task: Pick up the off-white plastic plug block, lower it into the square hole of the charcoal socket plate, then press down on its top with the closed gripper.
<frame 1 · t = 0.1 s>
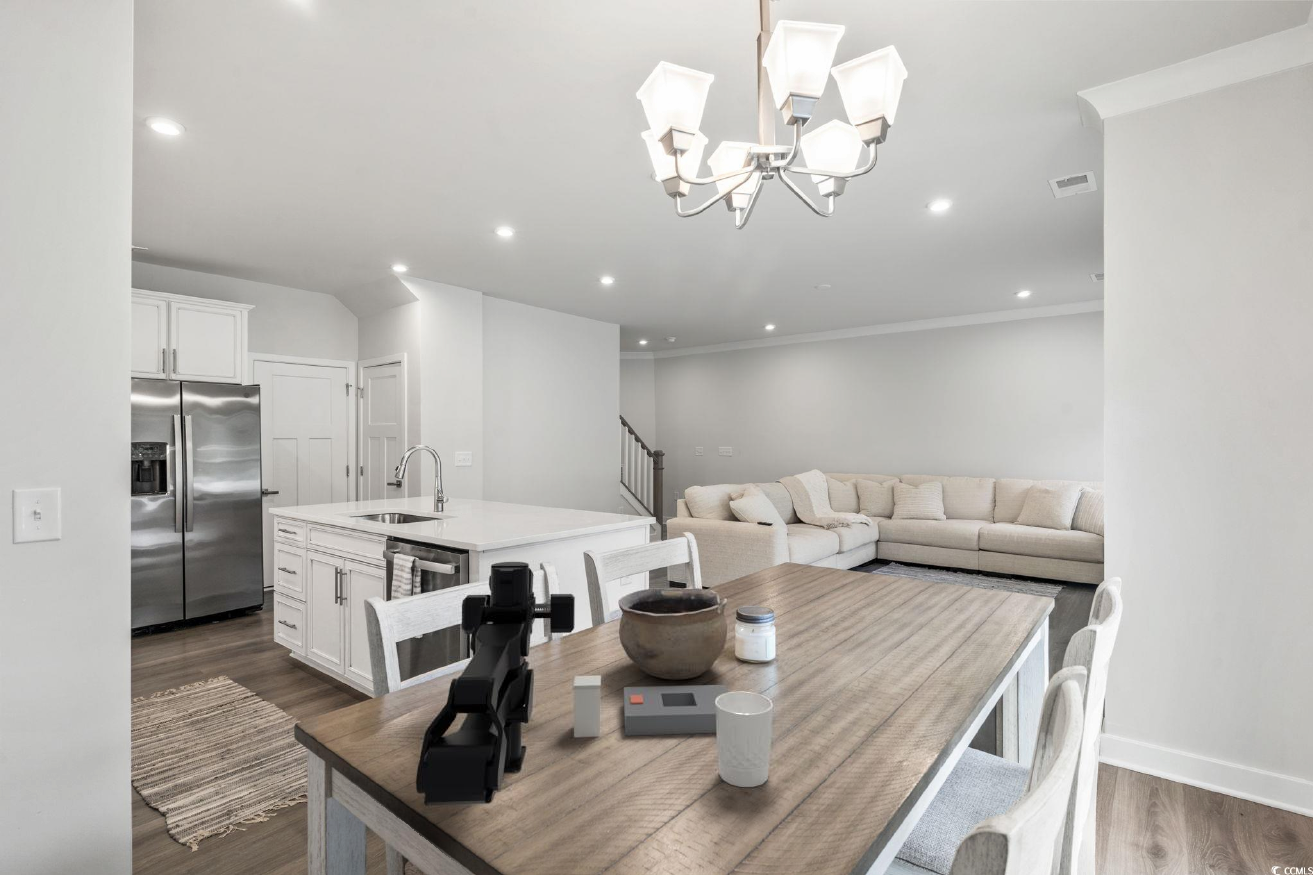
hand: (525, 602, 117), 17 cm above the table, tool horizontal, fingers open, 9 cm apart
ceramic bowl: (672, 673, 127), on the table
white cup: (743, 776, 88), on the table
plug: (587, 731, 101), on the table
socket: (678, 717, 106), on the table
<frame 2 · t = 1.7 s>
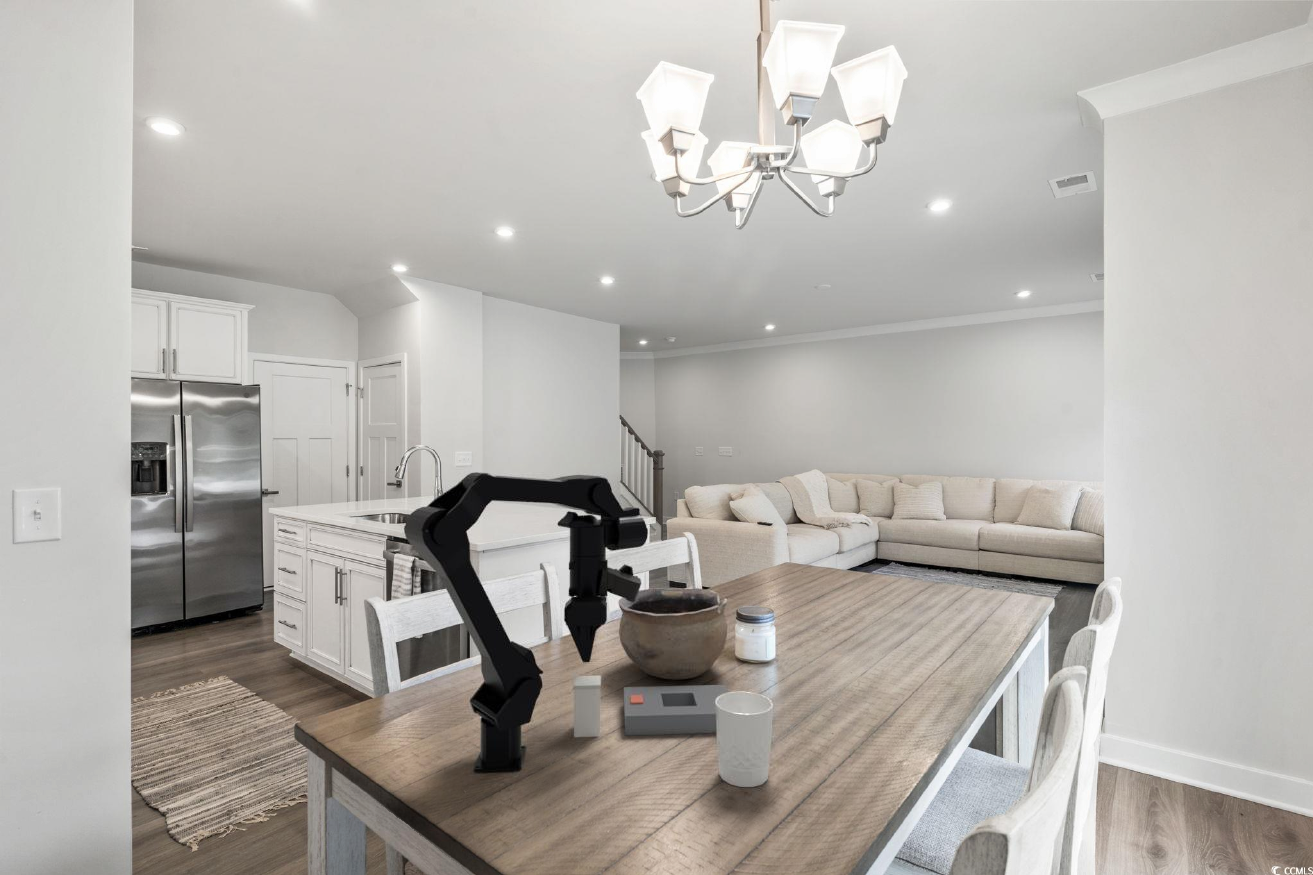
hand: (587, 652, 102), 12 cm above the table, tool pointing down, fingers open, 9 cm apart
nothing on the table moved.
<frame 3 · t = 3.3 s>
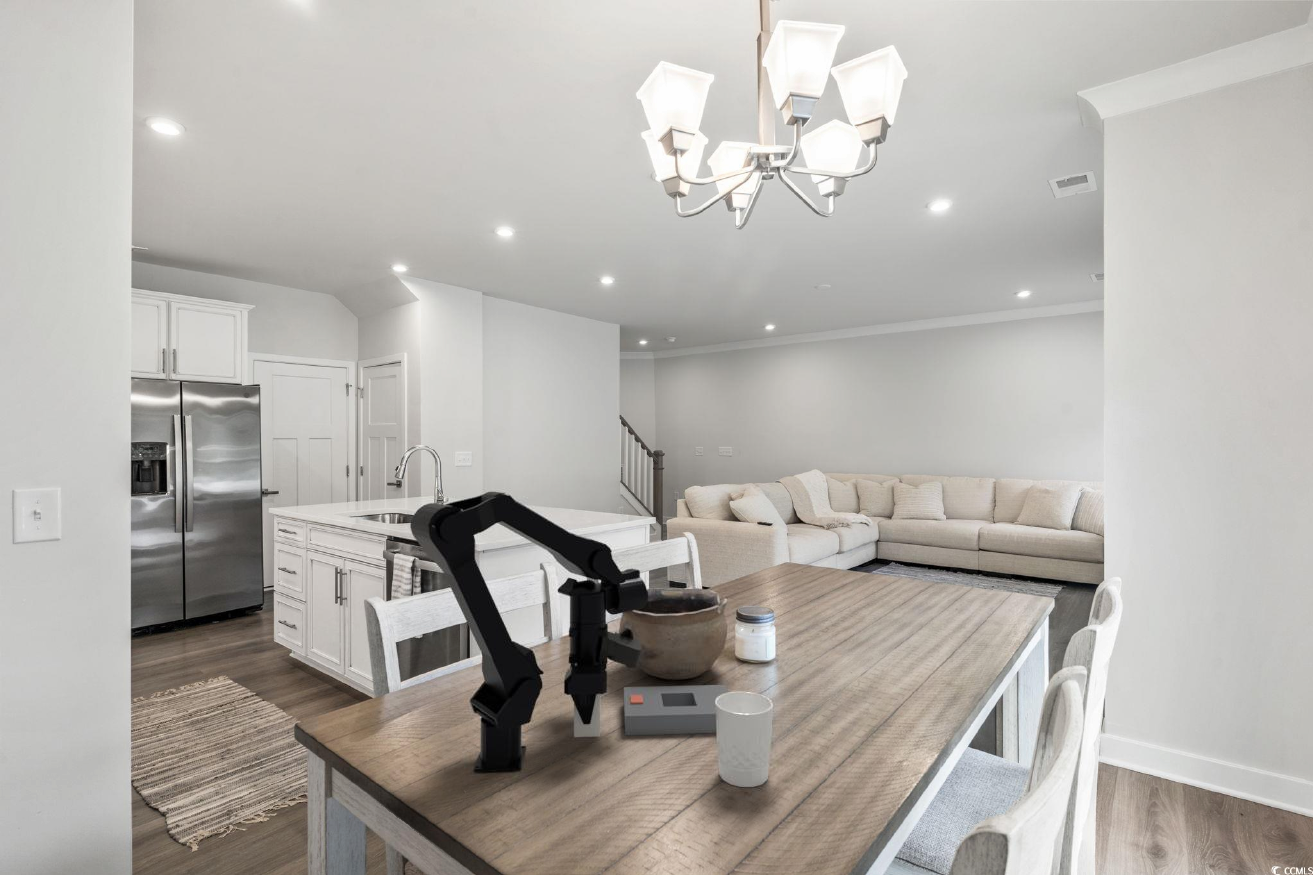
hand: (587, 718, 101), 2 cm above the table, tool pointing down, fingers closed on plug, 4 cm apart
plug: (587, 730, 101), on the table, touching gripper
everything else where it was.
when the fingers open (3 cm above the table, at t = 8.0 s): plug drops 2 cm, resting in socket.
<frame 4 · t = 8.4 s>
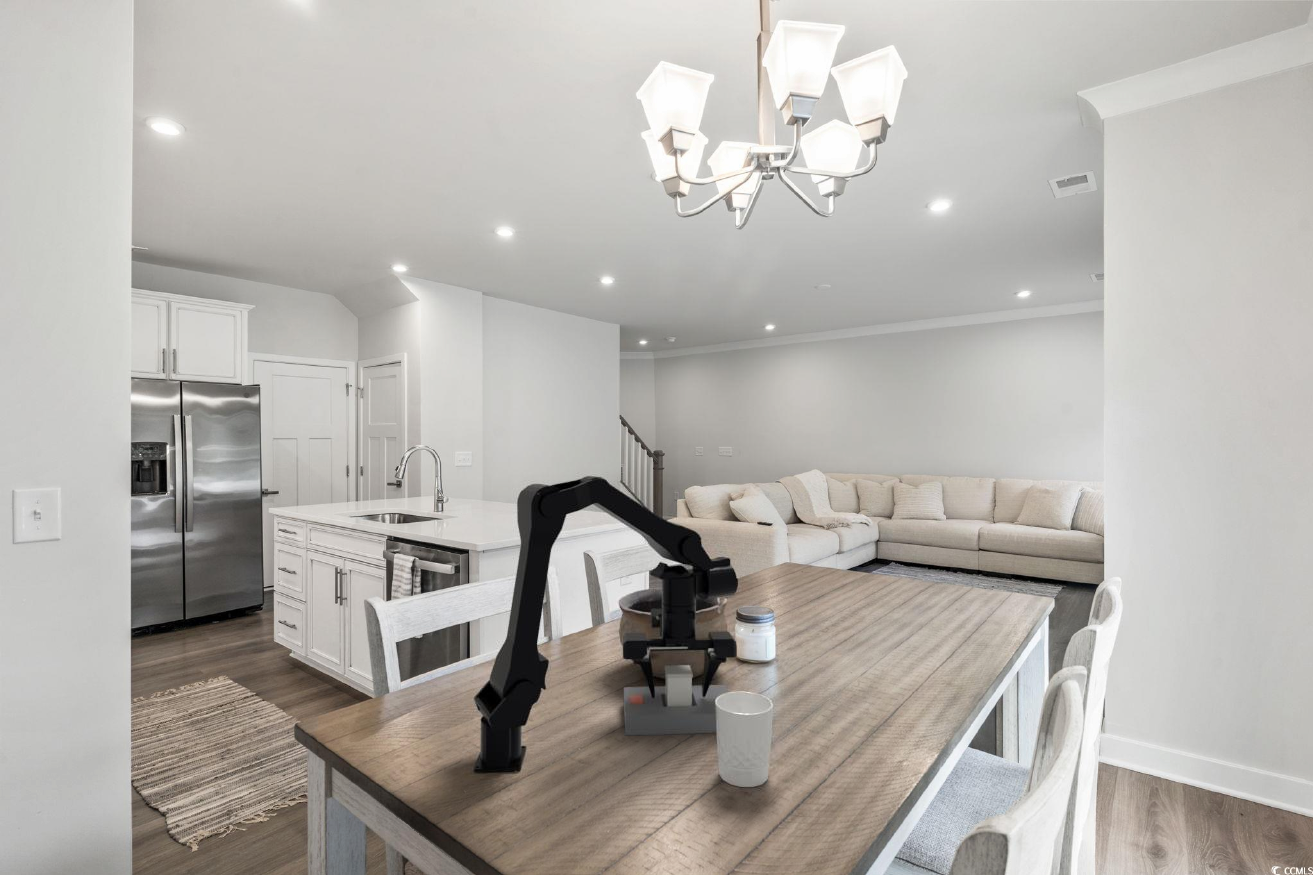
hand: (678, 696, 107), 3 cm above the table, tool pointing down, fingers open, 8 cm apart
plug: (678, 717, 106), resting in socket
everything else where it was.
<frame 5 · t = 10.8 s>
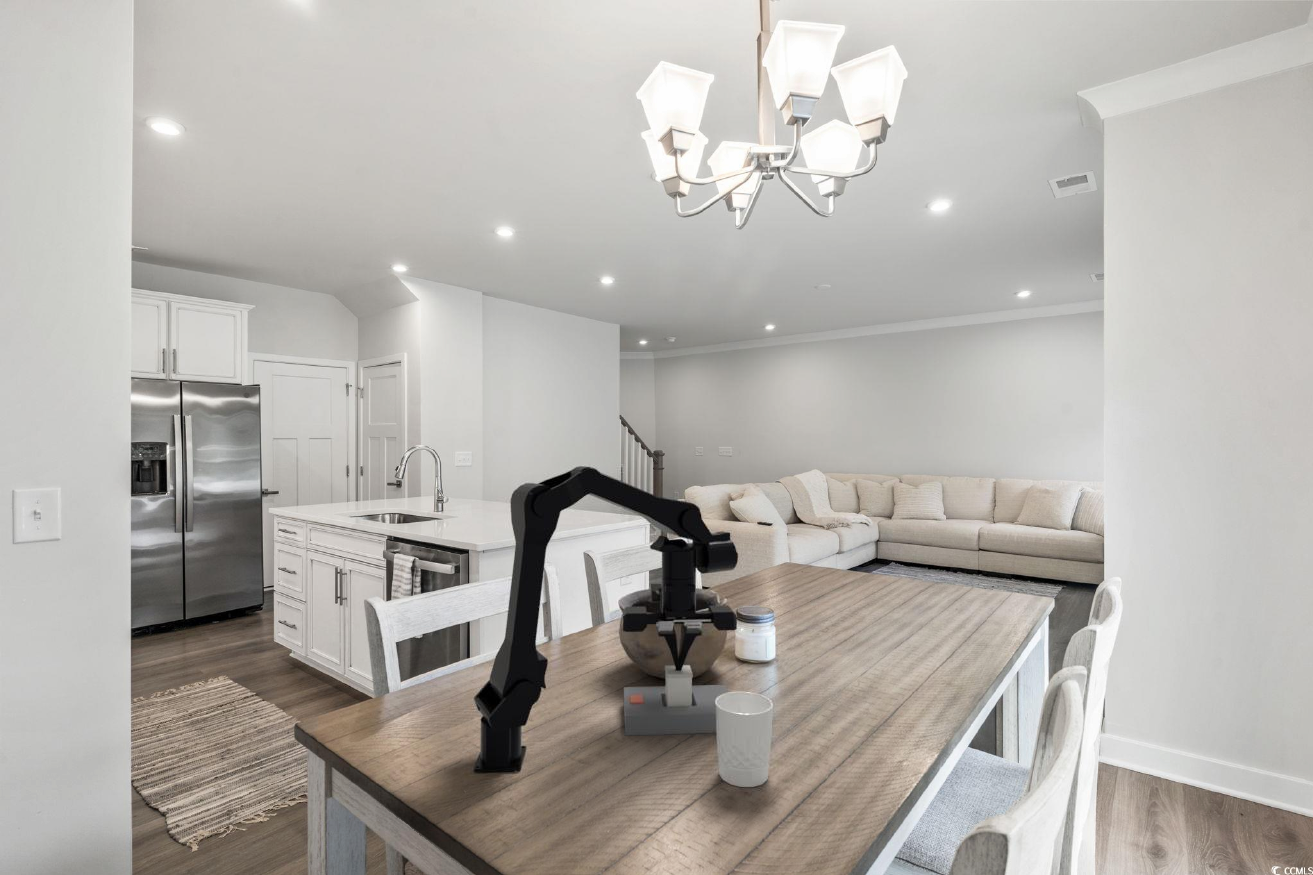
hand: (678, 669, 107), 8 cm above the table, tool pointing down, fingers closed, pressing on plug
plug: (678, 717, 106), resting in socket, touching gripper
everything else where it was.
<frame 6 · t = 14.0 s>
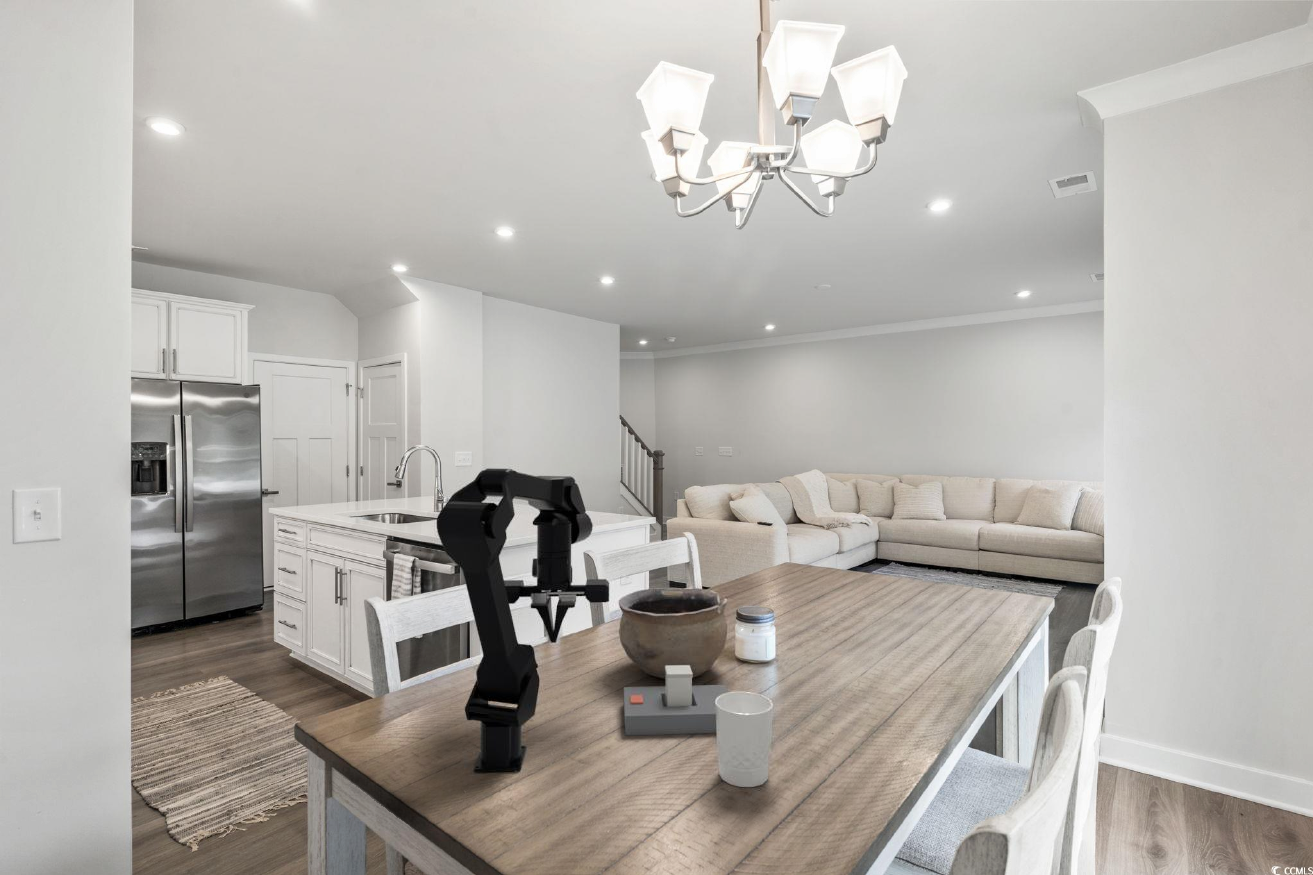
hand: (553, 642, 108), 12 cm above the table, tool pointing down, fingers closed
plug: (678, 717, 106), resting in socket
everything else where it was.
at the end: plug 0.0 cm off-centre on the socket, point 0.0 cm above the socket's base; plug tilted 0°; the gripper is holding nothing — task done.
